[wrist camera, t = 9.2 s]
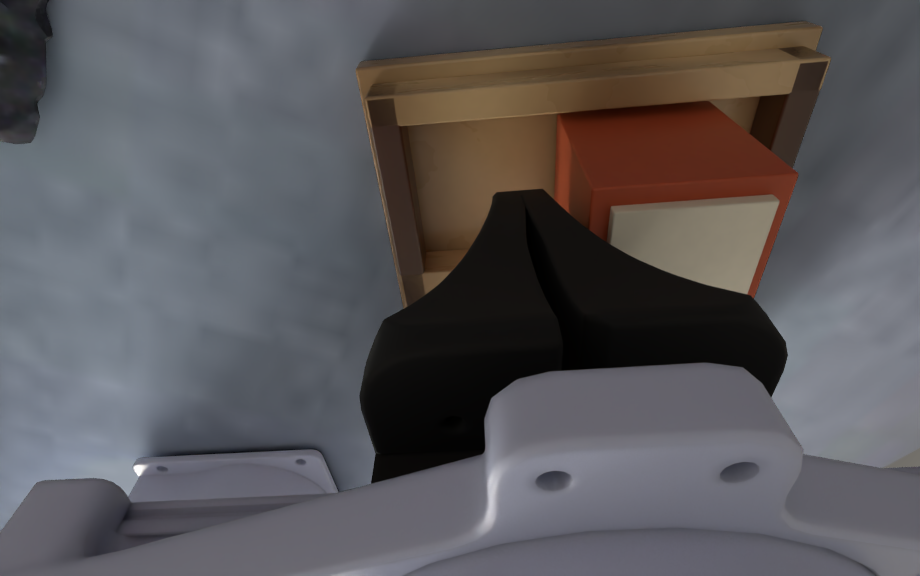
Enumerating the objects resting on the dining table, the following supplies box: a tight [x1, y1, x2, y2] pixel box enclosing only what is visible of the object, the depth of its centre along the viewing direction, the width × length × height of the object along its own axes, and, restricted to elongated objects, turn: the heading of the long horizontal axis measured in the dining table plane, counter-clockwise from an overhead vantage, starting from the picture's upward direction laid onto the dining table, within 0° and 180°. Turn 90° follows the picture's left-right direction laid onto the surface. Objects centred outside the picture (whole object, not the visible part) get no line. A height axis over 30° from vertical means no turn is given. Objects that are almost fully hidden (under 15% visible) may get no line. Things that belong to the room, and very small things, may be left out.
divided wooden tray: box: [356, 21, 831, 308], centre depth 16 cm, size 12×13×2 cm
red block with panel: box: [554, 101, 798, 299], centre depth 13 cm, size 4×4×5 cm
